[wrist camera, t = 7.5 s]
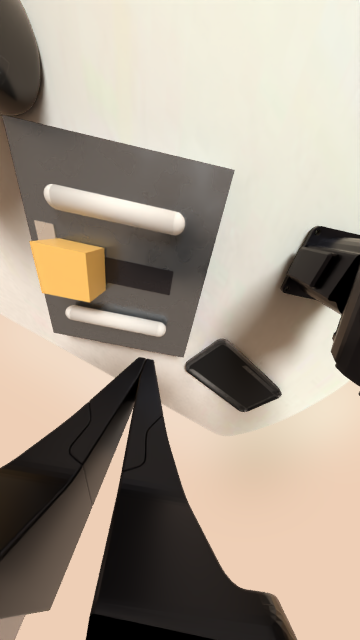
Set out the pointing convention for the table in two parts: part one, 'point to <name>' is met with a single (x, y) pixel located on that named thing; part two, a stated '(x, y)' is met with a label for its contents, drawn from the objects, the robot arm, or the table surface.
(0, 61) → the supplement bottle
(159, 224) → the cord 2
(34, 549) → the robot arm
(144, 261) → the panel
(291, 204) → the table surface
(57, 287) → the block
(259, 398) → the phone
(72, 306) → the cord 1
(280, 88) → the table surface
